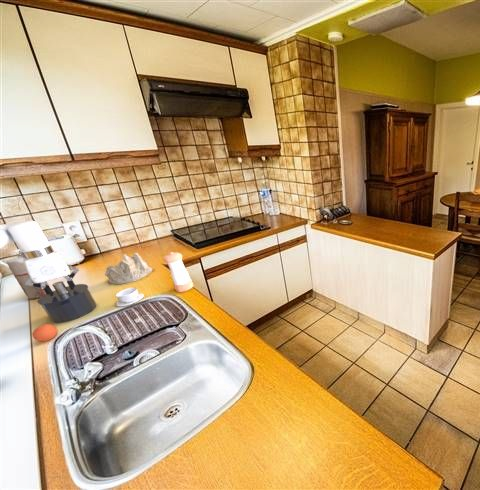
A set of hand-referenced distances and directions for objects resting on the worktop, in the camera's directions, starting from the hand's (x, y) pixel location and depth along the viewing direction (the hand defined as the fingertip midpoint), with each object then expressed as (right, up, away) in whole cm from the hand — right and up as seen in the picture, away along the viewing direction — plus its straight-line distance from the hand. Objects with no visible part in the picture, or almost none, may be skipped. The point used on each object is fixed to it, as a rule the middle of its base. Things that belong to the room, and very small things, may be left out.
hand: (62, 291), depth 110 cm
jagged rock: (0, +2, +33) cm, 33 cm away
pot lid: (0, -1, +1) cm, 1 cm away
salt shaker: (+38, -2, +19) cm, 43 cm away
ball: (+7, -13, -12) cm, 19 cm away
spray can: (-34, -5, +20) cm, 40 cm away
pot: (+1, -10, +4) cm, 11 cm away
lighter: (-25, -7, +16) cm, 31 cm away
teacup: (+19, -6, +11) cm, 23 cm away
